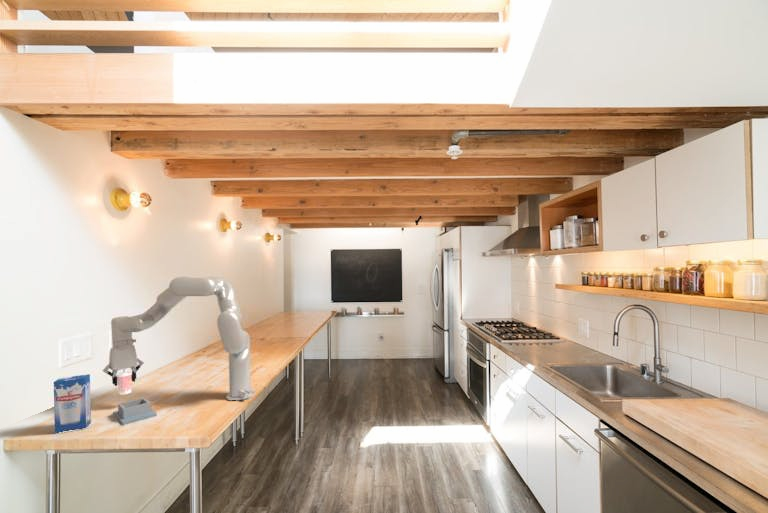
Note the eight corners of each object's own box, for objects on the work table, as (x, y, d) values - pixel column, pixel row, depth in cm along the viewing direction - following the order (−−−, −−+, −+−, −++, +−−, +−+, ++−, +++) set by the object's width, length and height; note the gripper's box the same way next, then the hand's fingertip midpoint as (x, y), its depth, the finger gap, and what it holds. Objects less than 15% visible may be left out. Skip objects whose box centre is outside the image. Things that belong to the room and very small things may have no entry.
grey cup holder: (156, 415, 160) (156, 403, 160) (122, 425, 151) (122, 412, 151) (145, 405, 172) (144, 394, 172) (113, 414, 163) (112, 402, 164)
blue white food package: (54, 434, 145) (53, 382, 146) (60, 428, 151) (59, 377, 151) (86, 428, 149) (85, 377, 150) (91, 422, 155) (90, 374, 155)
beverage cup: (123, 391, 175) (121, 361, 175) (136, 390, 174) (134, 360, 175) (113, 395, 169) (111, 364, 169) (127, 395, 168) (125, 363, 169)
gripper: (142, 339, 181) (144, 376, 180) (97, 346, 168) (99, 387, 168) (146, 340, 176) (148, 379, 175) (100, 348, 163) (103, 390, 163)
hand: (124, 382), depth 172 cm, fingers closed on beverage cup, 6 cm apart
